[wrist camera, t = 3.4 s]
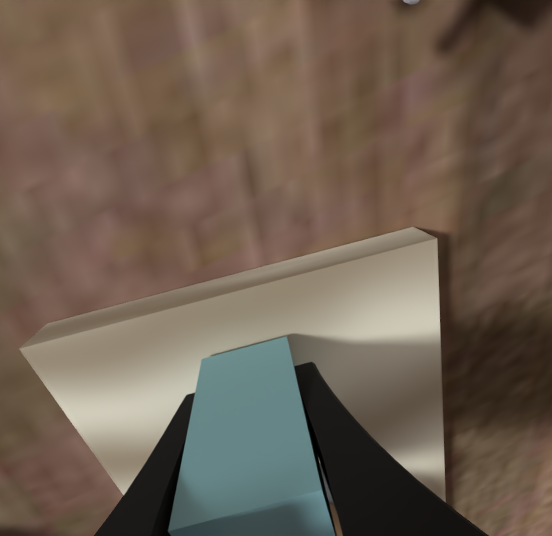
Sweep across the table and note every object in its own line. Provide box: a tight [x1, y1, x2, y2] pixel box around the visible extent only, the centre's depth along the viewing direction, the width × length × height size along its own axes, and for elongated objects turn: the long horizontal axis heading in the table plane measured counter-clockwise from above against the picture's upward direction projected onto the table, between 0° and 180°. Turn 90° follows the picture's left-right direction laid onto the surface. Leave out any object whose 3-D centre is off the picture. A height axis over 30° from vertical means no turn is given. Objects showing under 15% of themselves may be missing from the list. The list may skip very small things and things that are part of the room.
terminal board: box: [19, 227, 446, 502], centre depth 15 cm, size 26×14×2 cm, turn 14°
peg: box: [168, 336, 337, 536], centre depth 9 cm, size 3×3×5 cm
